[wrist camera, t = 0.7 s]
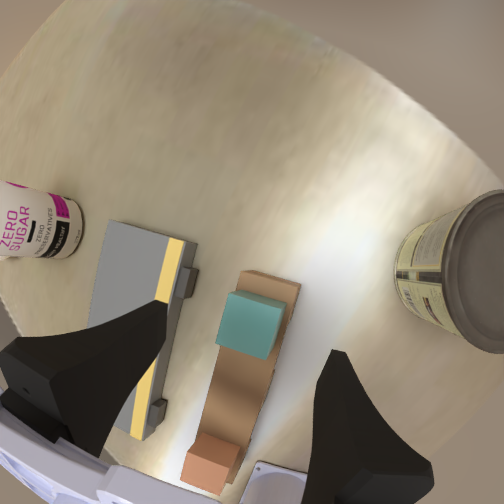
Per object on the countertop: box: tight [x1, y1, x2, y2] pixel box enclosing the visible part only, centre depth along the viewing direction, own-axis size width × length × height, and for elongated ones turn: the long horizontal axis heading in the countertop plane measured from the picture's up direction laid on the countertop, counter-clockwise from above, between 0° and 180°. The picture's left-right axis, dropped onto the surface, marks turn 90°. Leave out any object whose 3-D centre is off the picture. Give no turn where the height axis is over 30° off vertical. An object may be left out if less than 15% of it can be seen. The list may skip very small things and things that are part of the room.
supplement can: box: [0, 180, 83, 259], centre depth 31 cm, size 8×8×15 cm
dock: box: [87, 220, 198, 441], centre depth 33 cm, size 24×11×3 cm, turn 164°
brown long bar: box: [195, 270, 301, 484], centre depth 29 cm, size 22×5×5 cm, turn 164°
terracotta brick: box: [180, 432, 240, 496], centre depth 25 cm, size 4×4×4 cm
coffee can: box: [394, 190, 504, 354], centre depth 21 cm, size 10×10×14 cm
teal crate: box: [215, 290, 287, 360], centre depth 25 cm, size 4×4×4 cm
